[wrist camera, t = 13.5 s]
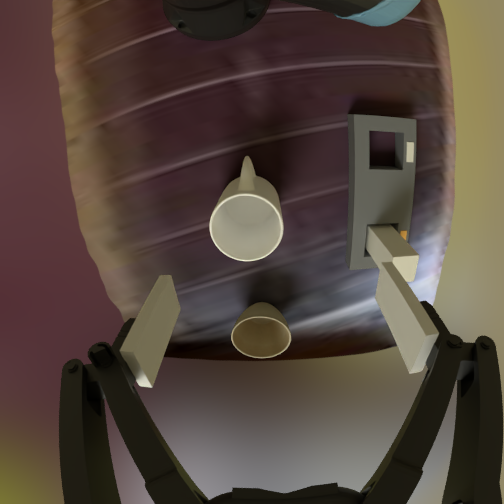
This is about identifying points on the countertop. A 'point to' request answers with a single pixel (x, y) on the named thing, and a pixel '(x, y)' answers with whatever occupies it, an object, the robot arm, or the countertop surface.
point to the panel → (378, 184)
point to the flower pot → (261, 331)
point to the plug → (391, 249)
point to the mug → (247, 217)
